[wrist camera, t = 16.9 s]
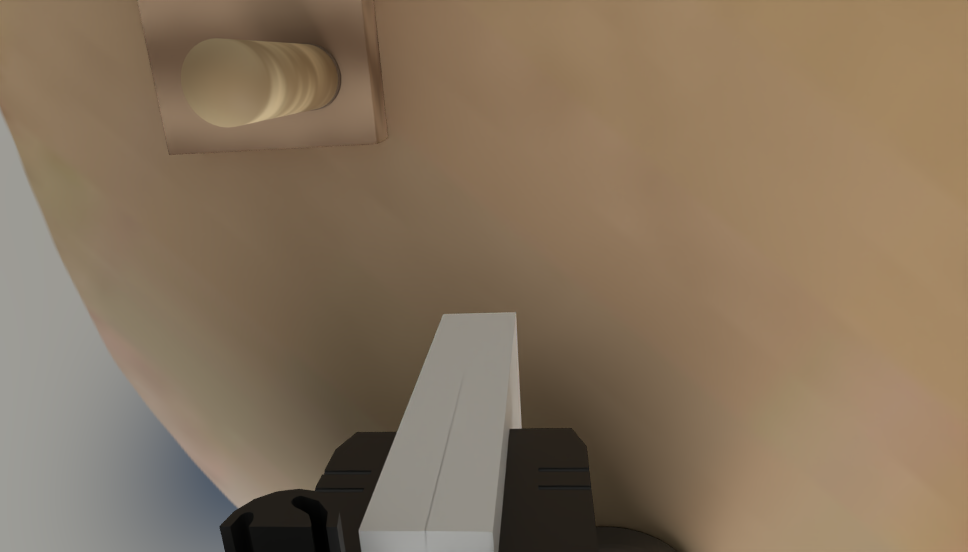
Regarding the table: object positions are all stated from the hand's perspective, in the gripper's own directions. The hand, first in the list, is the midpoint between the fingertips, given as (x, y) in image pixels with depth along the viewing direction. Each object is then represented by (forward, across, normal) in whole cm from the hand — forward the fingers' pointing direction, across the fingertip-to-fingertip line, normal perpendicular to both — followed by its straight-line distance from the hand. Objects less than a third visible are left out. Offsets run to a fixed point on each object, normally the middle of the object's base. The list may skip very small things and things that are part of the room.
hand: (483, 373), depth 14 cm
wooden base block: (+29, +15, -11) cm, 35 cm away
